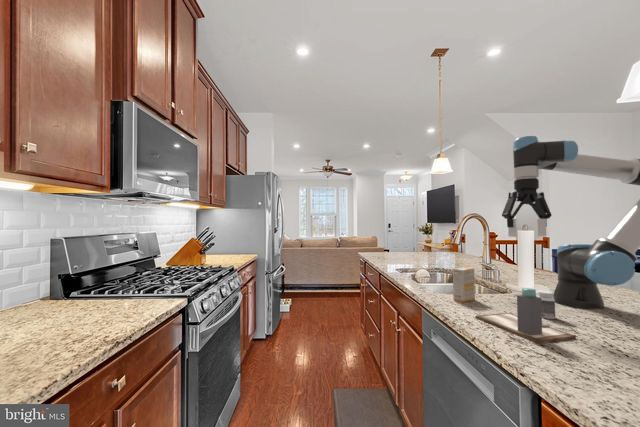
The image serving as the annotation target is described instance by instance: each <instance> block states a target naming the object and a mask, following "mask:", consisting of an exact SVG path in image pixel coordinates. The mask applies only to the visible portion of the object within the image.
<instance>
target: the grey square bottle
mask: <svg viewBox="0 0 640 427" xmlns="http://www.w3.org/2000/svg"><path fill="white" fill-rule="evenodd" d="M536 294H537V290H536V289H534V288H527V287H524V288H521V294H518V295H516V304H517V305H516V312H517V315H516V316H517V318H518V331H520V332H523V333H525V334H528V335H540V334H542V323H543V318H542V306H541V298H540V297H539V296H536Z"/></svg>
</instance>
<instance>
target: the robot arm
mask: <svg viewBox="0 0 640 427" xmlns="http://www.w3.org/2000/svg"><path fill="white" fill-rule="evenodd" d="M512 147H513V148H512V153H513V154H512V155H513V156H512V157H513V178H514V181H513V189H514V191H509V192H508V197H507V200H506V202H505V206H504V208H503V210H502V213H501V216H502V217H503V218H504V219H506V223H507V224H506V228H507V229H508V237H510V238H511V237H512V238H517V237H518V236H517V235H518V234H517V218H515V217H516V216H517V214H518V212H519V211H520V209H521V208H522V207H523V206H524V205H528V206H530V207H531V208H532V210H533V211H534V212H535V214H536V216H537V217H538V218H537V221H536V222H537V237H547V227H548V222H547V220H548V219H550V218H551V217H552V212H551V210H550V208H549V206H548V203H547V201H546V198H545V192H544V191H541V192H538V191H537V190H539V188H540V186H539V185H540V184H539V183H540V182H539V181H540V180H539V178H540V177H539V176H540V175H539V170H545V171H552V172H553V171H555V172H562V173H568V174H569V173H570V174H574V175H575V174H576V175H582V176H591V177H597V178H604V179H611V180H617V181H619V180H620V182H622V183H623V184H627V185H634V186H639V187H640V158H630V159H618V158H610V157H603V156H596V155H588V154H579V145H578V144H577V142H576V141H574V140H564V139H563V140H557V141H555V140H554V141H539V140H538V136H536V135H525V136H524V135H523V136H520V137H518V138H516V139H514V141H513V146H512ZM538 177H539V178H538ZM639 249H640V198H639V199H638V201H636V203H635V204H634V205H633V206H632V207H631V209H630V210H629V211H628V212H627V213H626V214H625V215H624V216H623V218H621V220H619V222H618V223H617V224H616V225H615V226H614V228H613V229H612V230H611V231H610V232H609V233H608V235H607V236H606V237H604V238H598V239H596V240H595V241H594V242H593V243H592V244H583V243H582V244H581V243H579V244H577V243H575V244H574V243H573V244H561V245H558V247H557V249H556V259H557V260H556V261H557V283H556V287H555V289H554V292H553V297H552V298H554V299H555V304H560V305H563V306H568V307H572V308H579V309H581V308H582V309H591V310H592V309H598V310H599V309H603V308H604V307H605V303H604V299H603V297H602V295H601V292H600V290H599V287H598V284H599V285H603V286H611V287H612V286H615V287H616V286H621V285H623V284H626V283H627V282H629V281H631V279H632V278H633V277H634V275H635V273H636V269H635V267H636V265H635V262H636V261H637V260H638V256H637V254H636V252H637V251H638V250H639Z"/></svg>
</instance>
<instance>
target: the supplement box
mask: <svg viewBox="0 0 640 427" xmlns="http://www.w3.org/2000/svg"><path fill="white" fill-rule="evenodd" d="M475 288H476V287H475V267H467V266H466V267H465V266H462V267H456V268H452V291H453V292H452V293H453V298H452V299H453V301H454V302H455V301H456V302H459V303H463V302H464V303H466V302H471V301H474V300H476V290H475Z"/></svg>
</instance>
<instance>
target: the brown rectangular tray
mask: <svg viewBox="0 0 640 427" xmlns="http://www.w3.org/2000/svg"><path fill="white" fill-rule="evenodd" d="M475 319H477V320H479V321H482V322H484V323H487V324H490V325H491V326H493V327H494V326H495V327H497V328H499V329H502V330H504V331H506V332H508V333H511V334H514V335H515V336H518V337H521V338H524V339H526V340H528V341H531V342H534V343H535V344H545V343H551V342H552V343H553V342H561V341H569V340H576V338H577V336H576V335H575V334H572V333H568V332H566V331H562V330H559V329H556V328H553V327H551V326H550V324H547V323H543V322H542V334H540V335H528V334H525V333H523V332H520V331H518V318H517V315H515V314H512V313H509V312H502V313H501V312H500V313H489V314H477V315H475Z"/></svg>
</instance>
